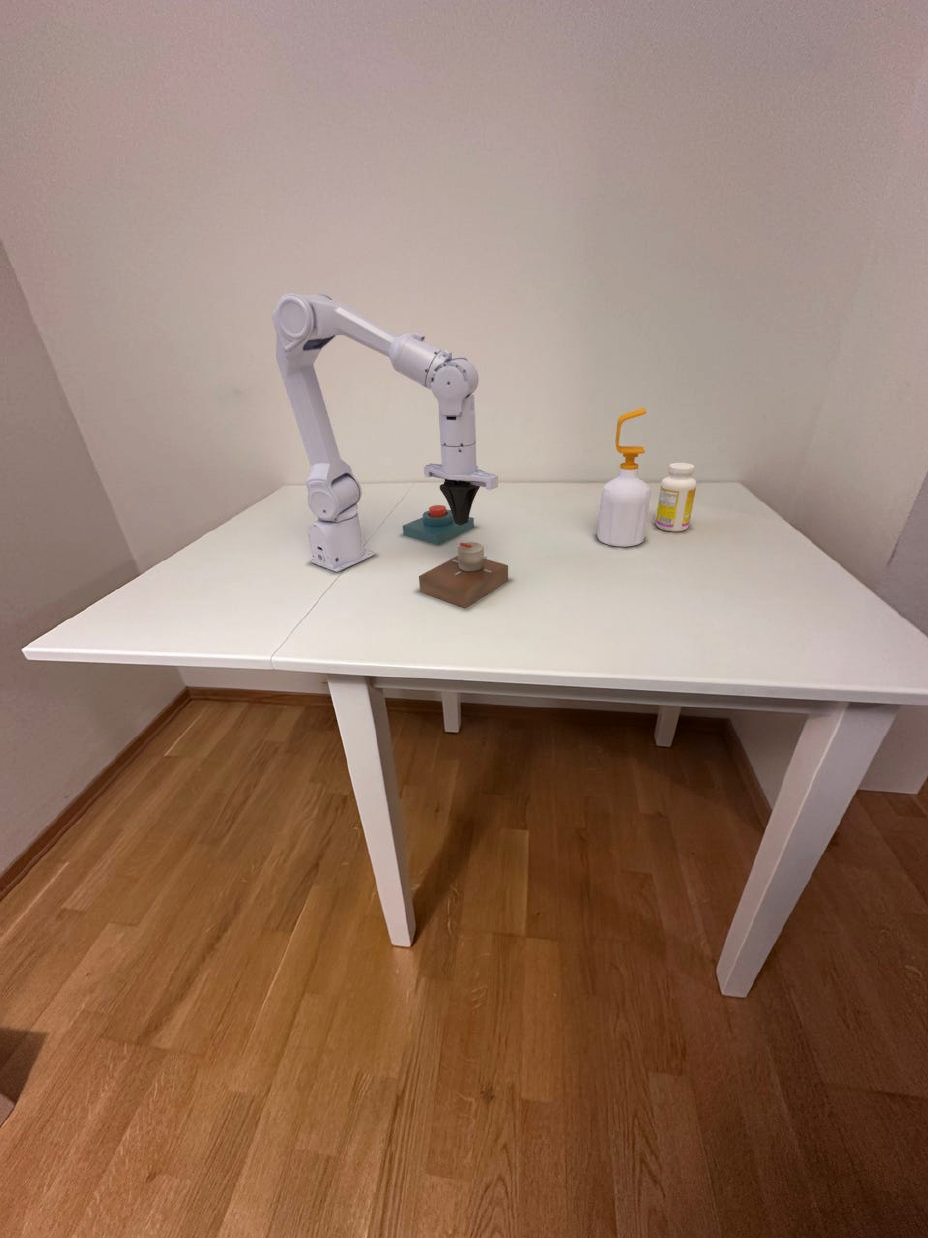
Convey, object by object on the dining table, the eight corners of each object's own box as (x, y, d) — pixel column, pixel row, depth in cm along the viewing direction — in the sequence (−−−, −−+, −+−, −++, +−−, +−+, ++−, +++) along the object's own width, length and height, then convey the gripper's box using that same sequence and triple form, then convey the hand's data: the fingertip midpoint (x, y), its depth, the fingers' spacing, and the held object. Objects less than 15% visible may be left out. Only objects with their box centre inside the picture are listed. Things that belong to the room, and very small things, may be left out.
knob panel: (465, 608, 82) (464, 591, 80) (420, 591, 87) (418, 575, 86) (509, 579, 90) (509, 563, 88) (465, 566, 95) (464, 550, 94)
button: (438, 519, 107) (438, 511, 106) (426, 516, 109) (425, 508, 108) (449, 514, 110) (449, 506, 109) (437, 511, 112) (436, 503, 111)
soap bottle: (645, 548, 99) (666, 413, 86) (597, 546, 100) (610, 414, 88) (641, 531, 106) (660, 405, 94) (596, 530, 108) (608, 405, 95)
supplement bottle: (683, 521, 110) (694, 460, 104) (692, 532, 105) (704, 469, 98) (651, 521, 111) (660, 461, 104) (658, 532, 105) (668, 470, 99)
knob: (489, 564, 88) (488, 544, 86) (473, 573, 86) (472, 552, 84) (469, 558, 91) (468, 538, 89) (453, 567, 88) (452, 547, 86)
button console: (438, 545, 105) (436, 526, 102) (403, 535, 110) (401, 517, 108) (474, 527, 112) (473, 509, 110) (440, 518, 118) (439, 502, 116)
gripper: (509, 442, 81) (508, 524, 88) (441, 433, 89) (445, 509, 96) (481, 452, 76) (483, 537, 83) (412, 441, 84) (419, 520, 91)
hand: (461, 523), depth 89 cm, fingers closed
